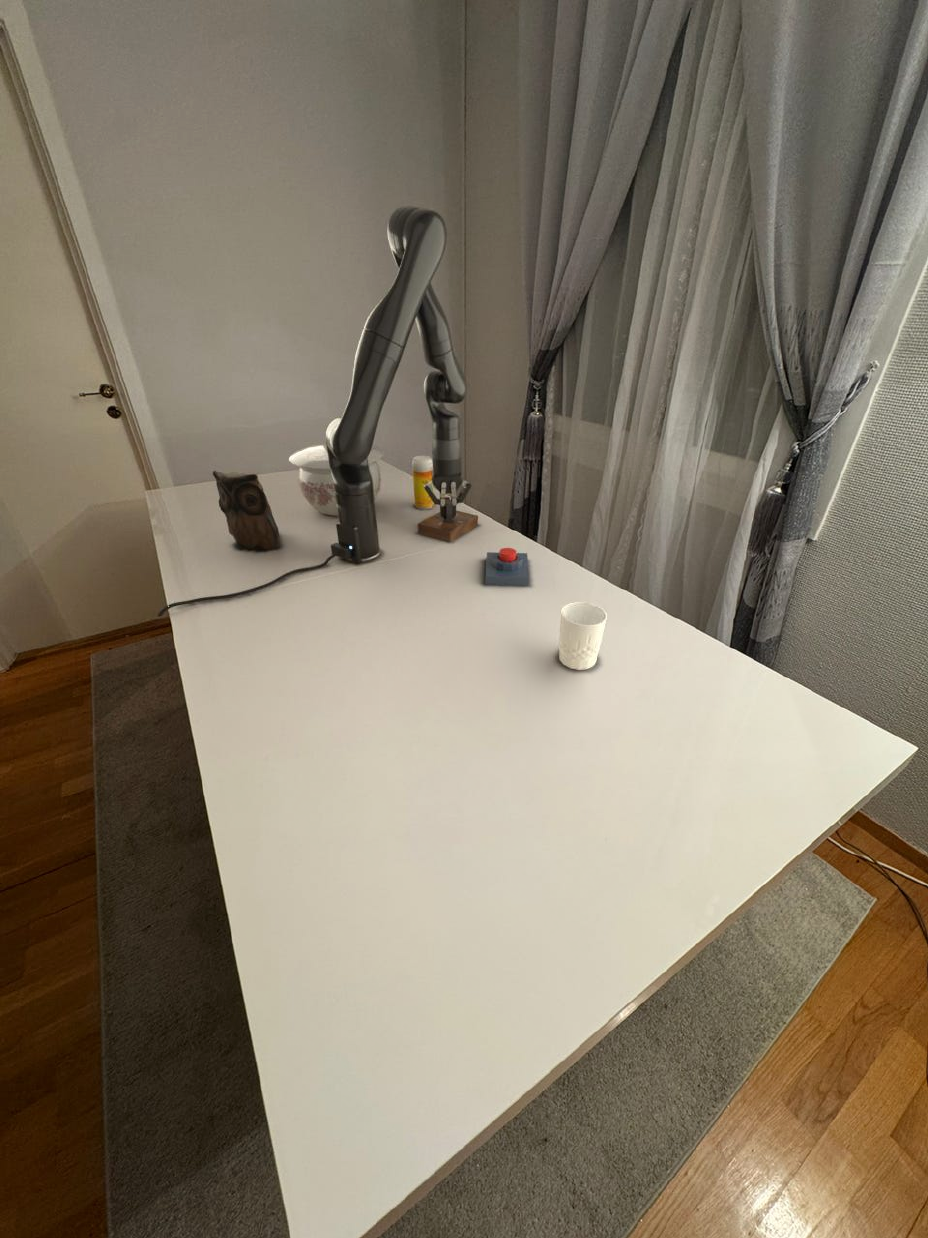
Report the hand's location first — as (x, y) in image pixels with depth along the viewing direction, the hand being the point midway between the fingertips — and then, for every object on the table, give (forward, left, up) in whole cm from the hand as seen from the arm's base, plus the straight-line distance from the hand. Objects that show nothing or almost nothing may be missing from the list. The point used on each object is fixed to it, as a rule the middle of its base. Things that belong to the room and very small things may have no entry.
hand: (448, 517), depth 146 cm
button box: (-14, -27, -4) cm, 31 cm away
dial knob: (0, 0, 0) cm, 0 cm away
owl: (-35, +37, -4) cm, 51 cm away
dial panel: (0, 0, -4) cm, 4 cm away
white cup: (-37, -55, -4) cm, 66 cm away
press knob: (-14, -27, 0) cm, 30 cm away
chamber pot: (-4, +37, -4) cm, 37 cm away
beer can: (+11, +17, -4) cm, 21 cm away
